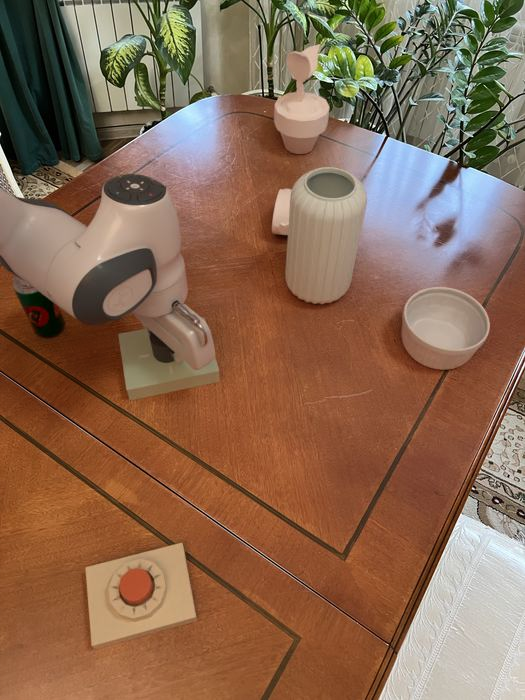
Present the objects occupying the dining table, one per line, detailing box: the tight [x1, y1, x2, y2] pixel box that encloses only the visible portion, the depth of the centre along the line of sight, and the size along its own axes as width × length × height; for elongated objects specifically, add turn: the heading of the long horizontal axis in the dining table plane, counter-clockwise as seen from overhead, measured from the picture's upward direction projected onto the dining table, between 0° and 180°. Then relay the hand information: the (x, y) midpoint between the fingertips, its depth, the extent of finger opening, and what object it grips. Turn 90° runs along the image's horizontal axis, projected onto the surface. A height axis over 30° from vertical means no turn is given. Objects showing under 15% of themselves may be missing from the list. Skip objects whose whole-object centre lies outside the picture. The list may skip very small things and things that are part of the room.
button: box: [119, 568, 153, 604], centre depth 66 cm, size 4×4×2 cm
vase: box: [284, 166, 368, 305], centre depth 93 cm, size 12×12×22 cm
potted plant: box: [273, 41, 330, 155], centre depth 118 cm, size 13×12×25 cm
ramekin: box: [401, 286, 491, 371], centre depth 92 cm, size 13×13×7 cm
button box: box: [85, 542, 198, 650], centre depth 68 cm, size 12×9×4 cm
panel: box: [117, 317, 221, 402], centre depth 90 cm, size 14×11×3 cm
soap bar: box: [271, 187, 292, 236], centre depth 108 cm, size 12×9×8 cm
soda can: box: [12, 274, 66, 339], centre depth 90 cm, size 5×5×12 cm
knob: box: [150, 331, 175, 363], centre depth 87 cm, size 4×4×4 cm
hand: (166, 347), depth 88 cm, fingers closed on knob, 4 cm apart
